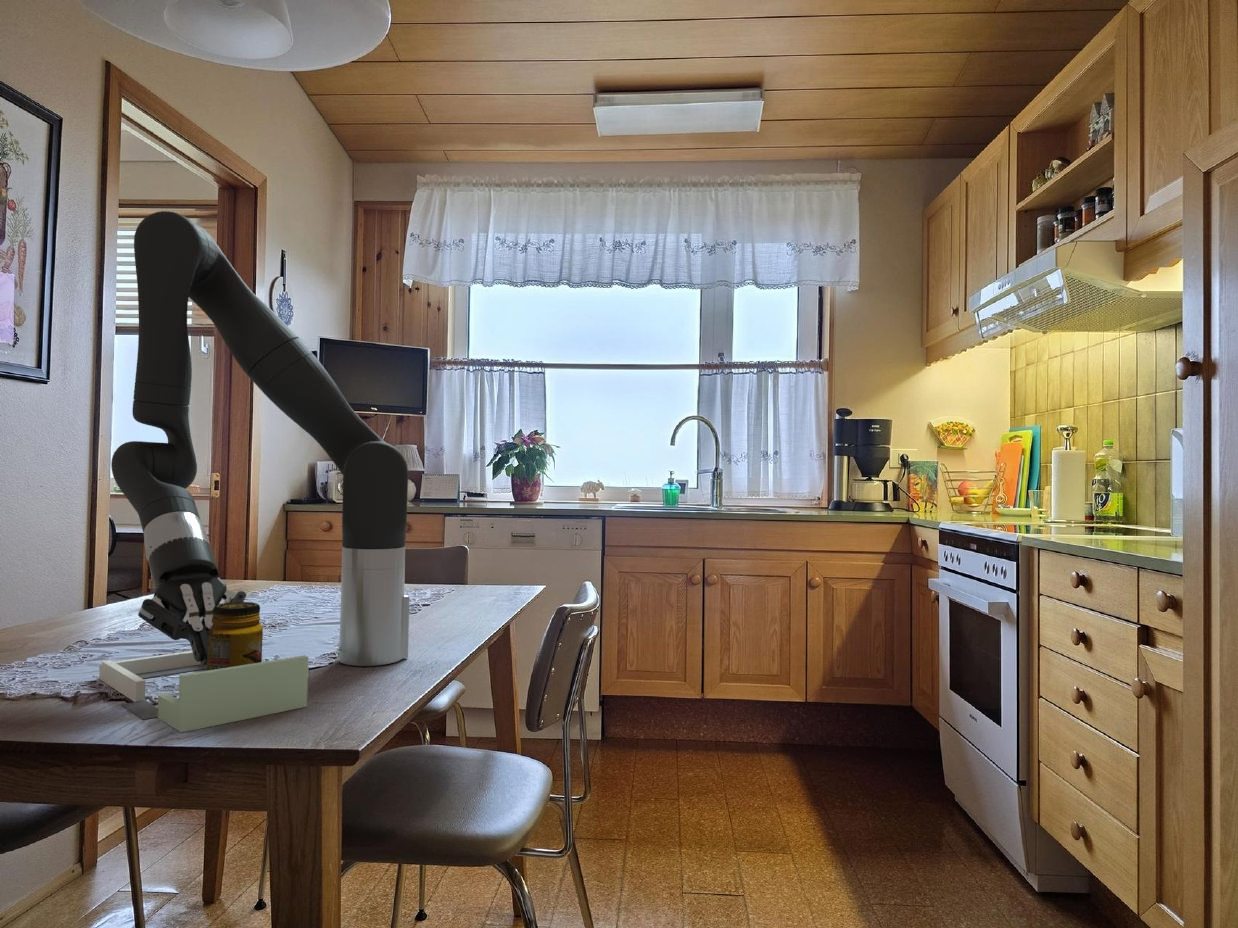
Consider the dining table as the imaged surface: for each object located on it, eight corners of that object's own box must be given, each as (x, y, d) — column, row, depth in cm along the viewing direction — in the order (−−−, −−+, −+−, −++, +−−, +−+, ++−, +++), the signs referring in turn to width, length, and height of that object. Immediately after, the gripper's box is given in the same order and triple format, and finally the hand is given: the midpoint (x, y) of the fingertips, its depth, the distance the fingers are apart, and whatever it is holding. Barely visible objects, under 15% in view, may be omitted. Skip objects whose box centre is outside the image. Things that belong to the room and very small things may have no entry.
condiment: (275, 701, 96) (278, 604, 97) (208, 718, 89) (212, 613, 89) (241, 691, 100) (244, 598, 101) (174, 707, 93) (177, 606, 93)
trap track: (209, 662, 115) (210, 621, 116) (306, 706, 95) (308, 656, 95) (85, 680, 104) (87, 635, 104) (165, 735, 83) (167, 679, 83)
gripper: (130, 536, 99) (158, 650, 90) (239, 533, 108) (274, 636, 100) (116, 574, 102) (142, 687, 94) (223, 567, 112) (255, 669, 103)
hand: (210, 660), depth 97 cm, fingers closed
